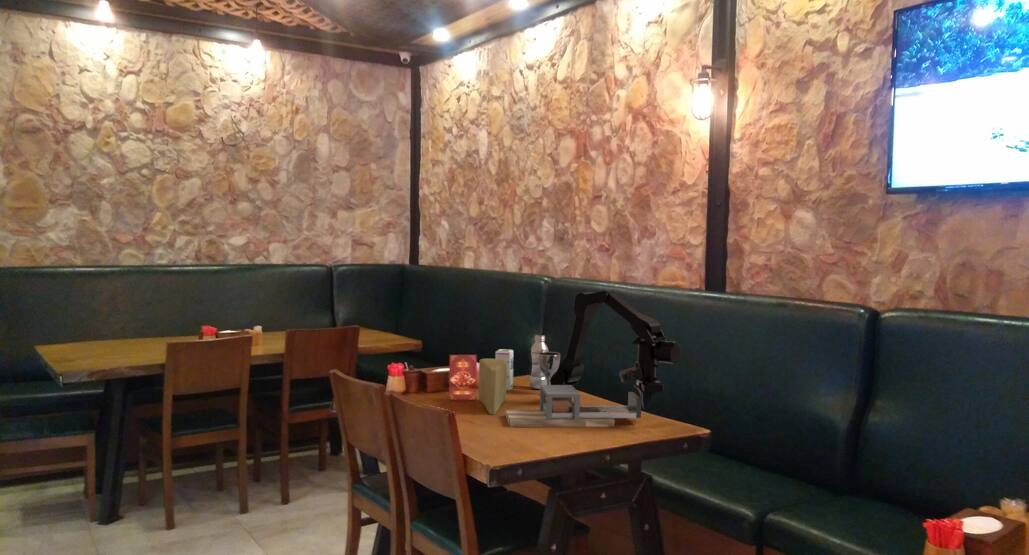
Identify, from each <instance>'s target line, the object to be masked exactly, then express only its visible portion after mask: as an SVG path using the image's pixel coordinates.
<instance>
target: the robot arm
mask: <svg viewBox="0 0 1029 555" xmlns="http://www.w3.org/2000/svg"><path fill="white" fill-rule="evenodd" d="M603 304H605V305H606V306H608V307H609V308H610V309H611V310H613V312H615V313H616V314H617V315H618V316H620V317H621V318H622V319H624V320H625V321H626V323H628V324H629V325H630V327H631V331H633V332H634V334H636V336H637V337H636V339H634V340H633V341H632V345H637V348H638V349H637V361H635V362H634V366H632V367H629V368H626V369H622V370H620V371H619V372H618V374H619V378H620V382H621V383H623V384H626V385H627V384H629V383H634V381H636V384H633V386H634V387H635V388H636V390H638V392H639V397H640V398H641V399H642V401H641V407H642V409H644V410H647V409H648V408H649V406H650V404H651V402H652V400H653V398H654V396H655V395H656V393H664V392H665V384H663V383H662V382H660V380H658V377H657V374H656V373H657V371H656V370H657V369H658V368H659V367H658V366H659V364H658V363H657V362H659V363H665V364H671V365H676V364H678V362H679V361H680V359H681V351H680V348H679V346H678V342H677V341H674V340H673V341H668V339H667V337H666V336H665V334H664V332H663V331H662V329H661V324H660V322H659V321H658V320H656V319H654V318H653V317H651V316H649V315H646V314H643V313H641V312H639V311H638V310H637V309H635V308H634V307H633V306H631V305H630V304H629V303H628V302H626V301H625V300H624V299H623V298H622V297H621V296H619V295H618V294H616V292H615V291H614V290H613V289H606V290H605V289H604V290H601V291H598V292H594V291H593V292H591V291H589V292H579V293H578V294H576V295H575V297H574V300H573V311H574V315H575V316H574V317H575V319H574V322H573V327H572V330H571V335H570V338H569V343H568V346H567V351H566V353H565V354H566V355H565V357H564V358H563V359H562V360H561V361H560V363H559V367H558V369H557V371H556V372H555V373H554V376H552V377H551V379H550V385H572V386H573V387H574V386H577V385H578V382H579V380H581V378H582V377H583V376H584V369H585V368H586V367H585V366H586V365H584V364H582V361H581V357H582V352H583V351H584V350H583V349H584V344H585V340H586V337H587V333H588V329H589V325H590V321H591V320H592V318H593V317H594V315H595V314H596V312H597V311H598V308H599V306H600V305H603ZM572 403H573V405H574V400H572Z"/></svg>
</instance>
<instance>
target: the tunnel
mask: <svg viewBox="0 0 1029 555" xmlns="http://www.w3.org/2000/svg"><path fill="white" fill-rule="evenodd" d="M539 391H540V392H539V393H540V395H539V410H540V411H542V406H543V402H546V420H552V397H566V398H567V399H568V400H569V402H572V401H573V403H574V418H573V419H574V420H579V413H580V406H581V405H580V404H581V393H580V392H578V390H577V389H576V388H575V387H574V385H573V386H572V385H551V384H549V385H541V386H540V389H539Z"/></svg>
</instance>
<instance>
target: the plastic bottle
mask: <svg viewBox="0 0 1029 555" xmlns="http://www.w3.org/2000/svg"><path fill="white" fill-rule="evenodd" d="M545 341H546V336H545V334H544V335H543V334H540V335H539V334H536V335H534V344H532V346H531V349H530V354H531V363H532V364H531V372H530V373H531V374H530V379H529V385H530V387H531V389H536V390H540V386H541V385H547V379H546V376H545V375H544V374H543V372H542V371H541V370H540V368H539V363H538V353H539V352H549V347H548V346H547V344H546V343H545Z"/></svg>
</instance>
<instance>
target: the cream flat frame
mask: <svg viewBox="0 0 1029 555" xmlns="http://www.w3.org/2000/svg"><path fill="white" fill-rule="evenodd" d="M580 412H607V411H580ZM504 416H505V418H506V420H507V423H508V425H509V427H510V428H577V427H578V428H584V427H585V428H586V427H589V428H590V427H591V428H592V427H593V428H594V427H595V428H598V427H601V428H602V427H603V428H605V427H607V428H609V427H610V428H612V427H613V428H614V427H615V423H616V422H615V421H616V420H615V418H579V420H574V419H573V418H552V420H546V415H545V414H544V412H543V411H540V409H505V414H504Z"/></svg>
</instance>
